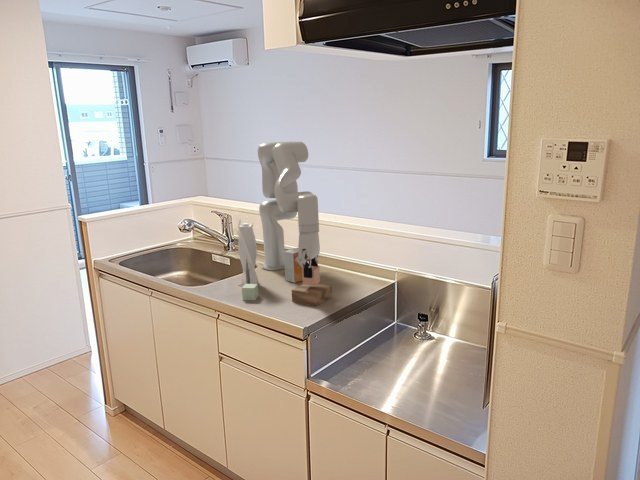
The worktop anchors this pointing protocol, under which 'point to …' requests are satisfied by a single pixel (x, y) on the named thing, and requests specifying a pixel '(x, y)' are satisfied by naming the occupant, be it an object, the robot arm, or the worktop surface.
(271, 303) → the worktop surface
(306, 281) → the terracotta block
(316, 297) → the walnut block
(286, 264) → the small box
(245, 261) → the skyscraper
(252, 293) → the sage cube
